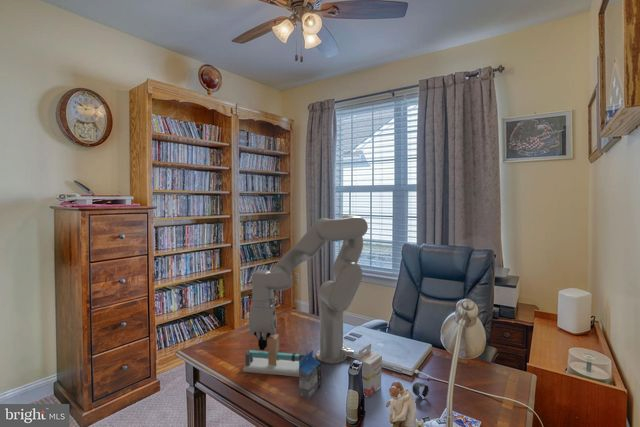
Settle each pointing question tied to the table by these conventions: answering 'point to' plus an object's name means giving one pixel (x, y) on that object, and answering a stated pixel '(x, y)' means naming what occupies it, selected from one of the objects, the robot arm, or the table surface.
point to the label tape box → (309, 376)
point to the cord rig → (279, 369)
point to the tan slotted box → (273, 349)
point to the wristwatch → (416, 389)
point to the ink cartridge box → (370, 370)
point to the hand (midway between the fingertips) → (262, 348)
